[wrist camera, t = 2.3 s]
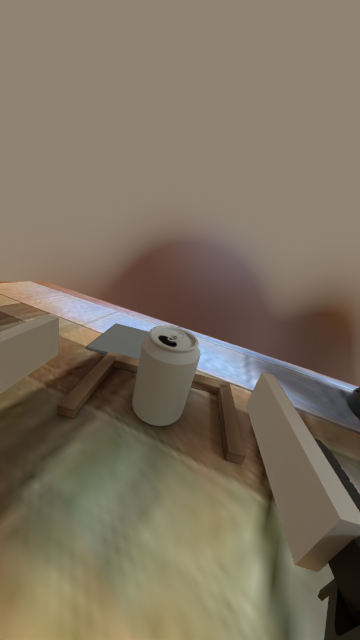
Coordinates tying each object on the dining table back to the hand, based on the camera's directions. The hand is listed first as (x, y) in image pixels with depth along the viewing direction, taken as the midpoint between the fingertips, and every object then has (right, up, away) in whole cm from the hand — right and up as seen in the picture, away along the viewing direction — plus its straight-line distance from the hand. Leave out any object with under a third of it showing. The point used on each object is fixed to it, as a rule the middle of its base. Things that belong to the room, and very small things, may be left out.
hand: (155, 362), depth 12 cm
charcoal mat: (-10, -2, +30) cm, 31 cm away
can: (-2, -10, +15) cm, 18 cm away
